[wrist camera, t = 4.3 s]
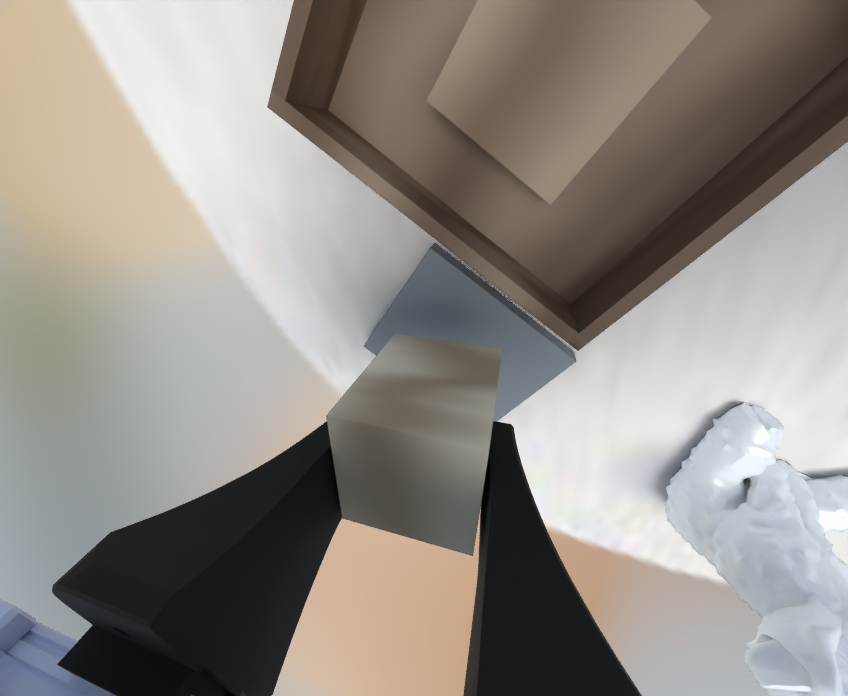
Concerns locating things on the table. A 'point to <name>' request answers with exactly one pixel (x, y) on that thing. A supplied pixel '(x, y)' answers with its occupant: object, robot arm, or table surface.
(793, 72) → the walnut crate
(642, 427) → the table surface
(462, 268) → the slate mat
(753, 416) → the white creature statuette
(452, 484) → the metal block
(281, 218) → the table surface
